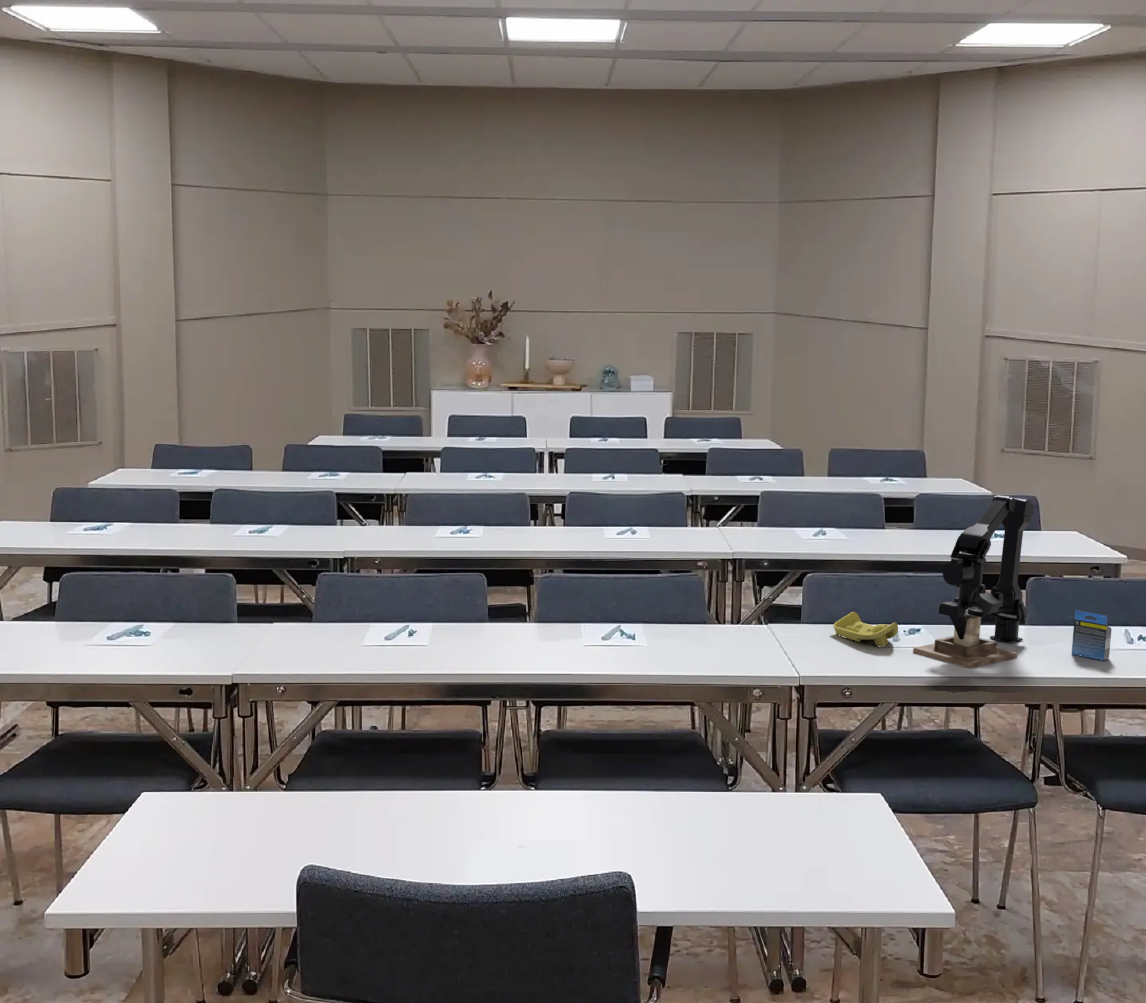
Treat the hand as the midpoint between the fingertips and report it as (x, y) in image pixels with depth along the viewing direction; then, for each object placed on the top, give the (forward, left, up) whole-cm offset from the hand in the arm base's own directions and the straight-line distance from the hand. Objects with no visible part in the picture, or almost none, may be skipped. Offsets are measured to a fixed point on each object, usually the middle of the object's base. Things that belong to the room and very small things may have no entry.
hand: (966, 638), depth 339 cm
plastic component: (+12, -24, -5) cm, 27 cm away
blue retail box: (-28, +19, -5) cm, 34 cm away
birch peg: (0, 0, -2) cm, 2 cm away
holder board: (0, 0, -4) cm, 5 cm away
